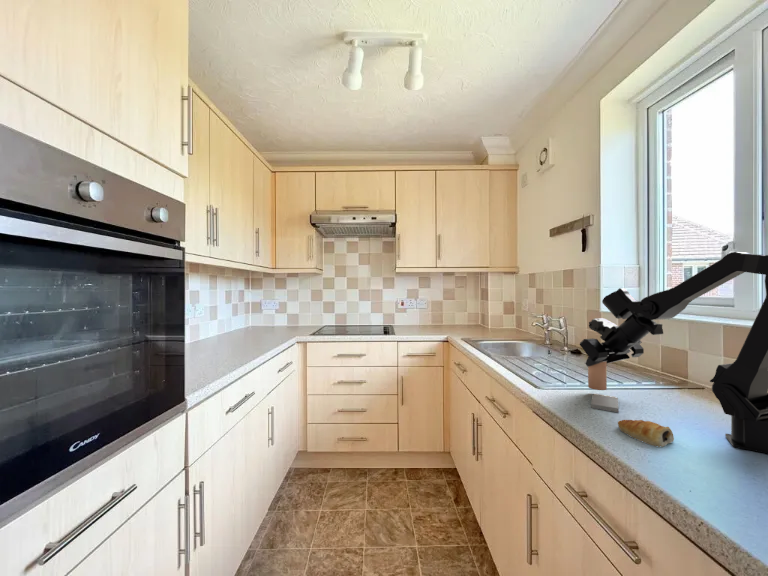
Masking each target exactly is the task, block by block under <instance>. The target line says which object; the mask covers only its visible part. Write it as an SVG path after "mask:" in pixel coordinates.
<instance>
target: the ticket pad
mask: <svg viewBox="0 0 768 576" xmlns="http://www.w3.org/2000/svg"><path fill="white" fill-rule="evenodd" d="M591 397H592V398H591V402H590V408H591V409H597V410H602V411H606V412H607V411H609V412H615V413H619V398H618V397H616V396H611V395H605V394H598V393H593V394H592V396H591Z"/></svg>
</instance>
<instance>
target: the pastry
mask: <svg viewBox="0 0 768 576" xmlns="http://www.w3.org/2000/svg"><path fill="white" fill-rule="evenodd" d="M617 425H618V428H619V429H620V432H622V433H625V434H626V435H627V434H628V435H627V436H629V437H630V436H631V438H632V437H633V438H632V439H635V438H636V440H637V439H638V441H640V442H642V441H643V443H644V442H645V444H647V445H649V446H652V447H656V446H658V447H657V448H661V447H662V448H663V447H666V446H667V444H671V443H673V442H674V440H675V437H674V436H675V435H674V433H673V430H672V429H671V428H670V427H669V426H663V425H661V424H659V423H657V422H653V421H649V420H643V419H634V420H633V419H622V420H619V421H617ZM660 446H661V447H660Z"/></svg>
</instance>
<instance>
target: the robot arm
mask: <svg viewBox="0 0 768 576" xmlns="http://www.w3.org/2000/svg"><path fill="white" fill-rule="evenodd" d="M744 273H751V274H754V275H755V274H756V275H765V276H764V286H765V298H764V300H763V303H762V305H761V306H760V308H759V310H758V313H757V315H756V317H755V319H754V321H753V323H752V326H751V328H750V330H749V332H748V334H747V336H746V338H745V340H744V342H743V344H742V347H741V349H740V351H739V353H738V355H737V357H736V359H735V360H734V361H733V362H732V363H725V364H718V365H717V367H716V370H715V373H714V375H713V377H712V378H711V379H710V380H709V382H710V383H712V385H711V392H712V393H713V394H714V396H715V398H716V399H717V400H718V401H719V403H720V406H721V408H722V411H723V413H724V414H726V415H728V416H731V417H730V418H731V419H730V421H731V423H730V425H731V426H730V428H731V429H730V431H731V432H730V433H725V435H724V436H725V438H726V439H727V440H728V441H729V443H730V445H732V447H733V448H737V449H743V450H747V451H753V452H758V453H764V454H768V254H757V253H756V254H755V253H751V252H744V251H741V252H740V251H732V252H729V253H726V255H724V256H723V258H720V259H719V260H718V261H716V262H714V263H712V264H710V265H709V266H707V267H706V268H704V269H702V270H701V271H698V273H696V274H694V275H692V276H691V277H689V278H688V279H685V280H684V281H682V282H680V283H679V284H677V285H675V286H674V287H671V288H668V289H666V290H663V291H659V292H656V293H653V294H650V295H648V296H646V297H643V298H642V299H641V300H640V301H639V300H636V299H635V298H634V297H633V296H632V295H631V293H630V292H629V291H628V290H627V289H626V288H623V287H622V288H621V287H620V288H618V289H617V290H615V291H613V292H611V293H609V294H608V295H605V297H603V298H602V301H601V302H602V304H603V305H604V306H605V307H606V309H607V310H608V311H609V312H610V313H611V314H612V315H613V316H614V317H615V319H621V320H624V321H623V322H622V323H620V325H617V324H616V323H614V322H612V321H610V320H608V319H607V318H604V317H600V318H596V317H595V318H593V319H591V320H590V321H589V322H588V328H589V329H590V330H592V331H593V332H596V333H598V334H599V335H601V336H600V339H601V340H602V341H603V342H600V341H599V340H598V339H597V338H583V339H582V340H581V341H580V342H579V346H580V347H581V349H582V350H583V351H584V352H585V354H586V355H587V359H586V361H585V365H586V367H588V366H592V365H596V364H599V363H602V362H606V361H607V365H608V364H611V363H615V362H620V361H624V360H625V361H626V360H629V359H630V356H631V357H632V358H639V357H641V356H642V355H643V354H645V353H644V350H645V349H644V347H643V346H642V345H641V344H642V339H644V337H646V336H647V335H648V334H651V335H652V336H657V335H659V336H660V335H664V330H663V324H662V323H658V322H656V321H655V320H669V319H673V318H675V317H676V316H677V315H679V314H680V313H681V312H683V311H684V310H685V309H686V308H687V306H688V305H689V304H690V303H691V302H692V301H694V300H695V299H697V298H700V297H701V296H703V295H705V294H707V293H709V292H710V291H712V290H714V289H716V288H719V287H720V286H722V285H723V284H725V283H727V282H729V281H731V280H732V279H735V278H737V277H739V276H741V275H742V274H744ZM630 352H632V353H631V355H629V354H630Z"/></svg>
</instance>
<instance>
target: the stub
mask: <svg viewBox="0 0 768 576" xmlns="http://www.w3.org/2000/svg"><path fill="white" fill-rule="evenodd" d="M607 365H608V364H607V361H606V362H602V363H599V364H596V365H592V366H587V374H588V375H587V383H588V384H587V387H588V388H589V389H591V390H595V391H607V386H608V385H607V374H608V373H607V370H608V369H607Z"/></svg>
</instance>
